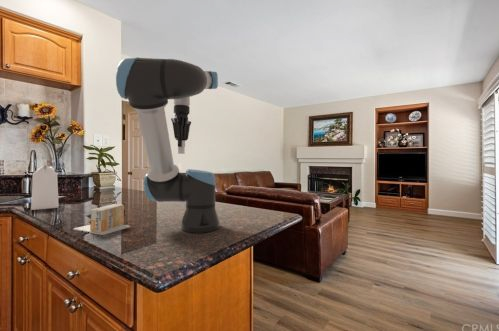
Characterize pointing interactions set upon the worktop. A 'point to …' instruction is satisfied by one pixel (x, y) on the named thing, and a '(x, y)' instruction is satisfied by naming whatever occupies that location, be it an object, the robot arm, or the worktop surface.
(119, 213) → the supplement box
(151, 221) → the worktop surface
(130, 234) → the worktop surface
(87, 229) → the mat
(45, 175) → the milk
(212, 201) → the robot arm
